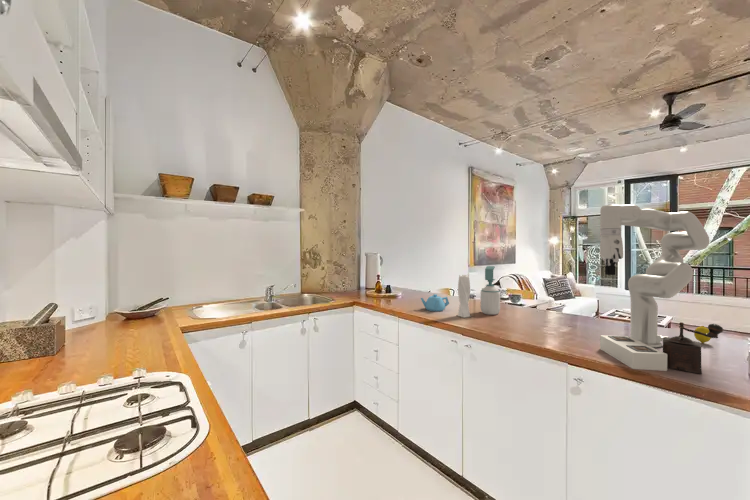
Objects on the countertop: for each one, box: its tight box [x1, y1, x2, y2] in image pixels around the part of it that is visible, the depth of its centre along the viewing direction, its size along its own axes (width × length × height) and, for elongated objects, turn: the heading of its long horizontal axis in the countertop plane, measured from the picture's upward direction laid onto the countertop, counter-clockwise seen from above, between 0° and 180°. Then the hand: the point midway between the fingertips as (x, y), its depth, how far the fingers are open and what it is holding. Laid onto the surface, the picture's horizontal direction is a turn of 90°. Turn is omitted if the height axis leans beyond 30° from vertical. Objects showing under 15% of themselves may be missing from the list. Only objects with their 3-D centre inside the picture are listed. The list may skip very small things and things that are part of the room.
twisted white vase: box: [455, 272, 473, 319], centre depth 203 cm, size 8×8×28 cm
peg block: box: [599, 334, 668, 372], centre depth 128 cm, size 11×23×6 cm, turn 170°
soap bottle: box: [480, 265, 501, 316], centre depth 213 cm, size 12×12×31 cm
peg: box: [634, 347, 648, 350], centre depth 122 cm, size 4×4×6 cm
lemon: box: [693, 325, 712, 344], centre depth 148 cm, size 6×6×8 cm
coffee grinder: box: [662, 321, 724, 375], centre depth 118 cm, size 16×11×18 cm
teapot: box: [420, 293, 450, 312], centre depth 226 cm, size 15×15×11 cm
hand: (610, 274), depth 142 cm, fingers closed
